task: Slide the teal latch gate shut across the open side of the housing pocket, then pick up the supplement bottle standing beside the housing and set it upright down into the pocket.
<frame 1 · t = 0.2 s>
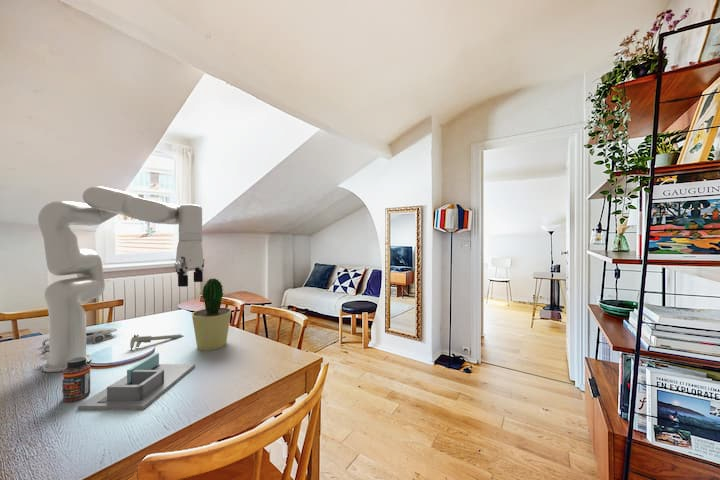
hand: (190, 284, 106), 30 cm above the table, tool pointing down, fingers open, 9 cm apart
car model: (81, 343, 127), on the table
potted cactus: (211, 345, 125), on the table
housing: (135, 394, 86), on the table
supplement bottle: (76, 397, 85), on the table
latch gate: (144, 366, 97), point 3 cm above the table, slide at 10.0 cm
caliper: (158, 343, 127), on the table
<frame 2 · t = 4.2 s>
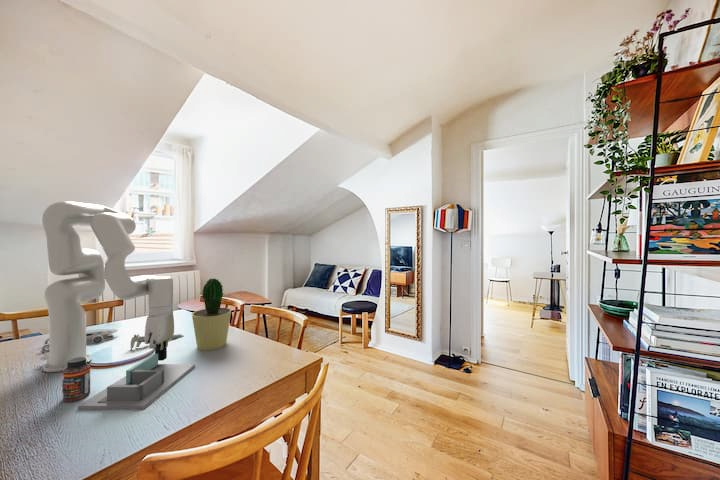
hand: (160, 359, 105), 2 cm above the table, tool pointing down, fingers closed
latch gate: (143, 367, 96), point 3 cm above the table, slide at 9.6 cm, touching gripper
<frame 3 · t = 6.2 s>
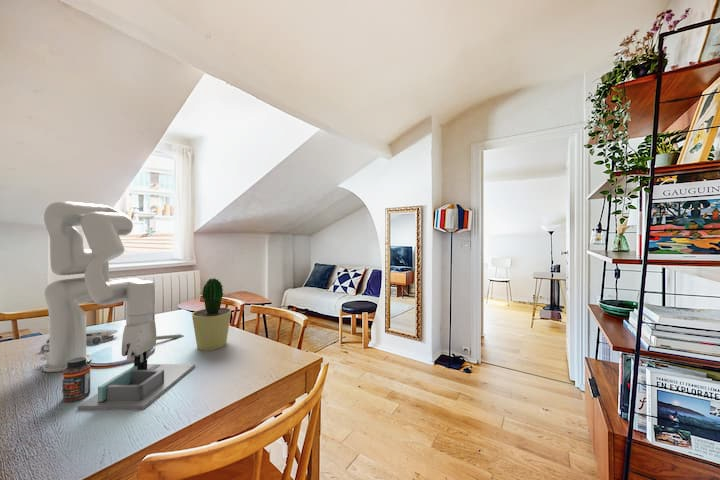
hand: (140, 372, 95), 2 cm above the table, tool pointing down, fingers closed
latch gate: (119, 382, 86), point 3 cm above the table, slide at -0.3 cm, touching gripper
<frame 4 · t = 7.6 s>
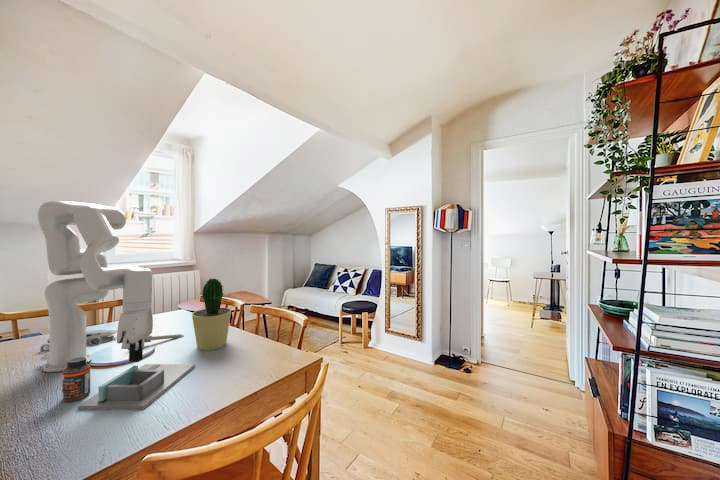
hand: (135, 360, 94), 7 cm above the table, tool pointing down, fingers closed
latch gate: (119, 382, 87), point 3 cm above the table, slide at 0.0 cm
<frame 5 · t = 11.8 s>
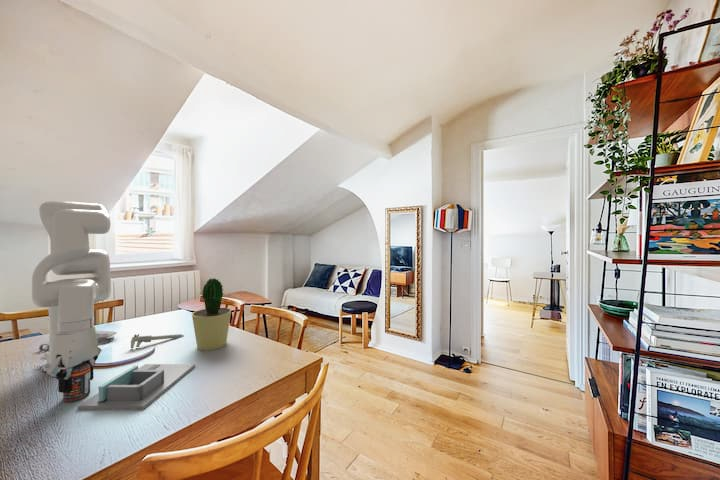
hand: (76, 385, 84), 4 cm above the table, tool pointing down, fingers closed on supplement bottle, 6 cm apart
supplement bottle: (76, 397, 85), on the table, touching gripper
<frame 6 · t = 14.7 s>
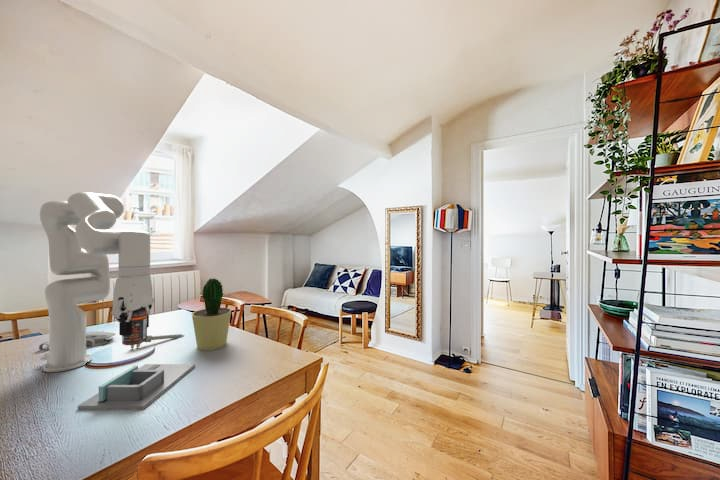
hand: (134, 330, 86), 19 cm above the table, tool pointing down, fingers closed on supplement bottle, 6 cm apart
supplement bottle: (134, 343, 86), point 16 cm above the table, touching gripper
when the fingers open (6 cm above the table, at t = 17.7 s): supplement bottle drops 1 cm, resting on housing.
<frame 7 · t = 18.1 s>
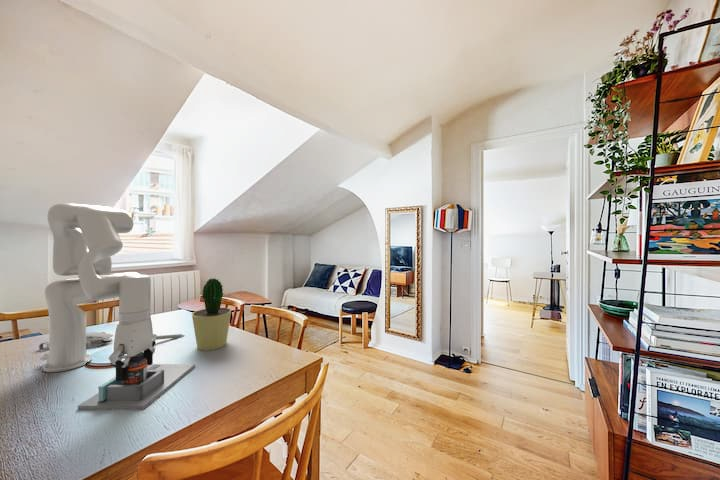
hand: (135, 372, 86), 7 cm above the table, tool pointing down, fingers open, 9 cm apart
supplement bottle: (134, 391, 86), point 1 cm above the table, touching housing
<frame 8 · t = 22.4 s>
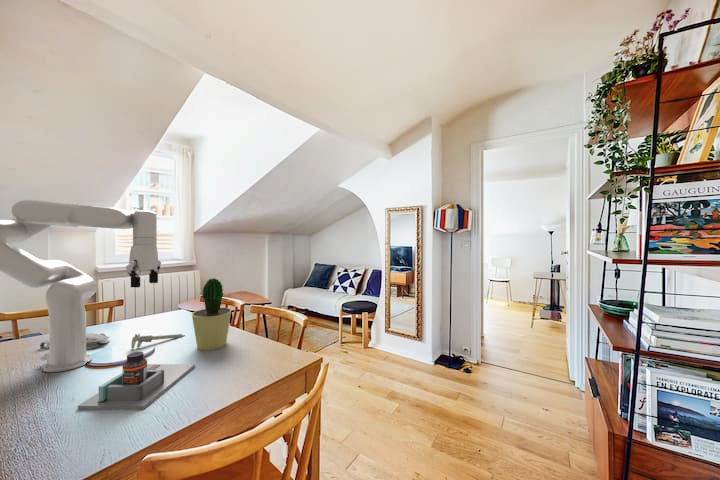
hand: (144, 285, 113), 28 cm above the table, tool pointing down, fingers open, 9 cm apart
at the end: latch gate slide at 0.0 cm; supplement bottle 0.2 cm off-centre on the housing, point 0.8 cm above the housing's base; supplement bottle tilted 0° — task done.
